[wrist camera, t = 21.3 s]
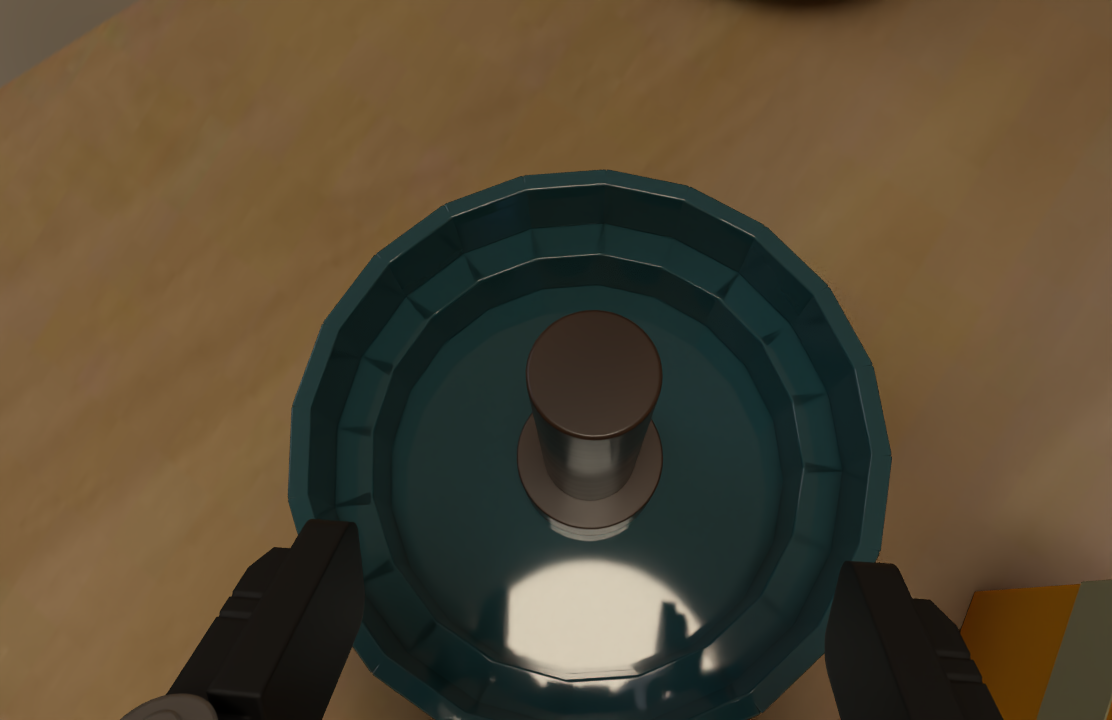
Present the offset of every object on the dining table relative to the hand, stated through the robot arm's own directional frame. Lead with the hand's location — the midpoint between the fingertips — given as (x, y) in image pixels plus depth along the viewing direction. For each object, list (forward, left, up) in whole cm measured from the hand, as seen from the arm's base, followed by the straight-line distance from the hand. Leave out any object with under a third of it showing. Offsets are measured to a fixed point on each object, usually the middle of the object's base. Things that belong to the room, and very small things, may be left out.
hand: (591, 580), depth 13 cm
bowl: (+2, -4, -15) cm, 15 cm away
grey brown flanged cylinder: (+2, -4, -14) cm, 14 cm away
